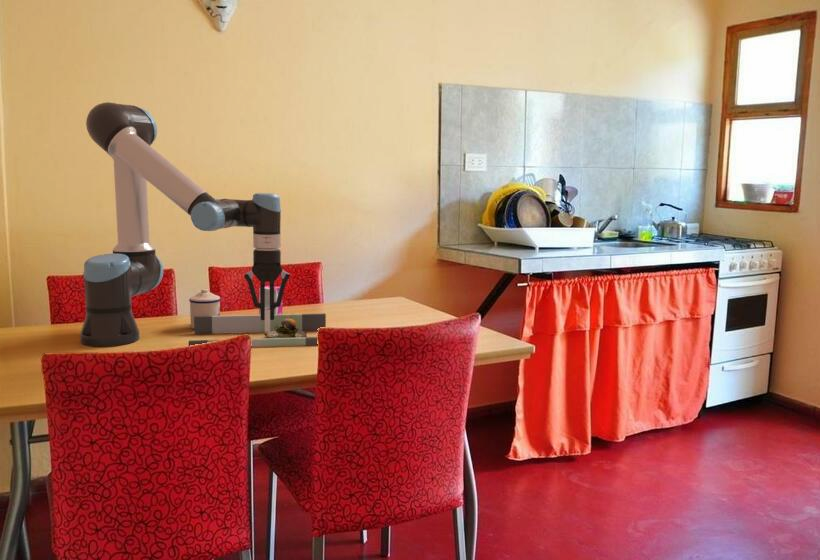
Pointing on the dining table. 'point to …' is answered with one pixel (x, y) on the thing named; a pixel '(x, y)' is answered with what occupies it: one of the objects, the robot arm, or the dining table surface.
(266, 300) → the supplement box
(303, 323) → the trap lane
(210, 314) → the teacup with lid
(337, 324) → the dining table surface
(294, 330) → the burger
